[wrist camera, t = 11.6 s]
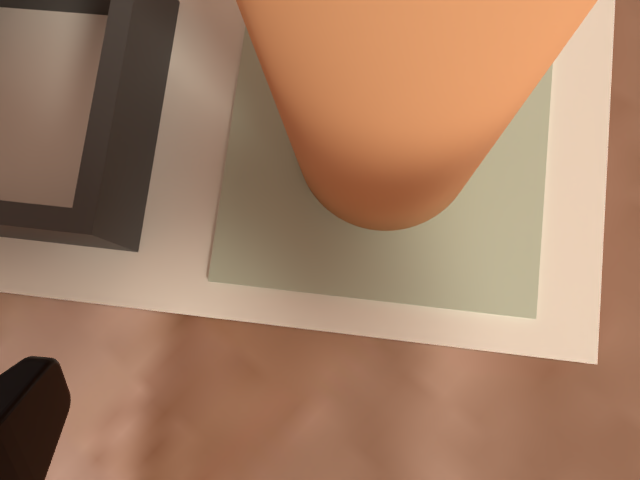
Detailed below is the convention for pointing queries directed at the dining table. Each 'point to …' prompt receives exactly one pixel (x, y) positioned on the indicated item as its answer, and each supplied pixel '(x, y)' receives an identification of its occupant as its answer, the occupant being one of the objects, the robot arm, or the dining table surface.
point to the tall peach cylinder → (401, 92)
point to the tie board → (282, 190)
